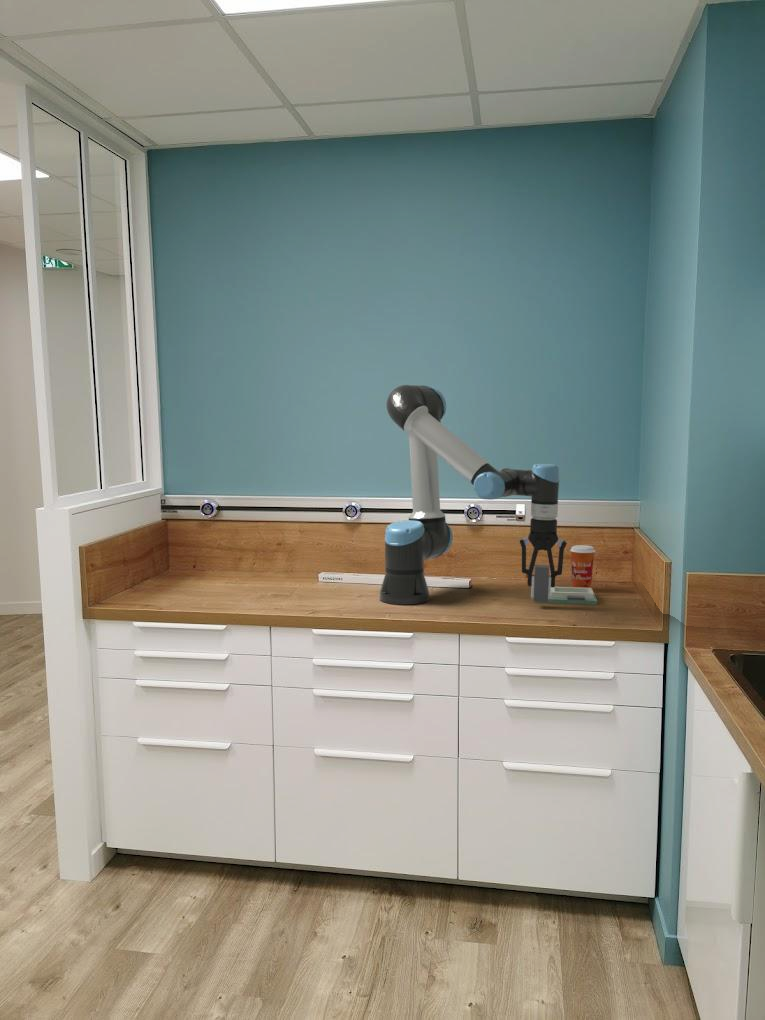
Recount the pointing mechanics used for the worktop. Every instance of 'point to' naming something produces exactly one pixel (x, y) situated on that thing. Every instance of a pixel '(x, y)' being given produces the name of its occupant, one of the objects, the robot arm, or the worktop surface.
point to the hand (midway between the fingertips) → (540, 597)
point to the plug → (541, 583)
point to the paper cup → (582, 565)
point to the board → (571, 596)
